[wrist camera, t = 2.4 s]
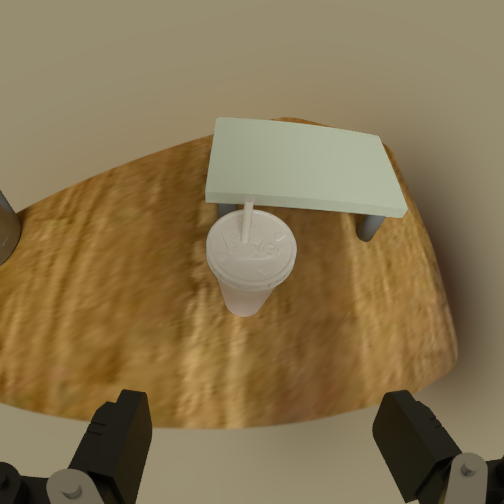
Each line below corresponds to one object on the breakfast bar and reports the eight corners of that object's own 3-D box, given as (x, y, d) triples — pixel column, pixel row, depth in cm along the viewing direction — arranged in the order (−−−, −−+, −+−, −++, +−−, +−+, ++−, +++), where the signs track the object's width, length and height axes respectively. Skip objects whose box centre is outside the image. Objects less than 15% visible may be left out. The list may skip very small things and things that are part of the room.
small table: (207, 236, 33) (205, 191, 27) (216, 160, 39) (216, 117, 33) (381, 246, 34) (407, 209, 28) (361, 174, 41) (378, 136, 35)
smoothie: (227, 260, 32) (231, 153, 20) (286, 284, 31) (324, 186, 19) (198, 313, 28) (181, 223, 17) (261, 341, 28) (293, 268, 16)
